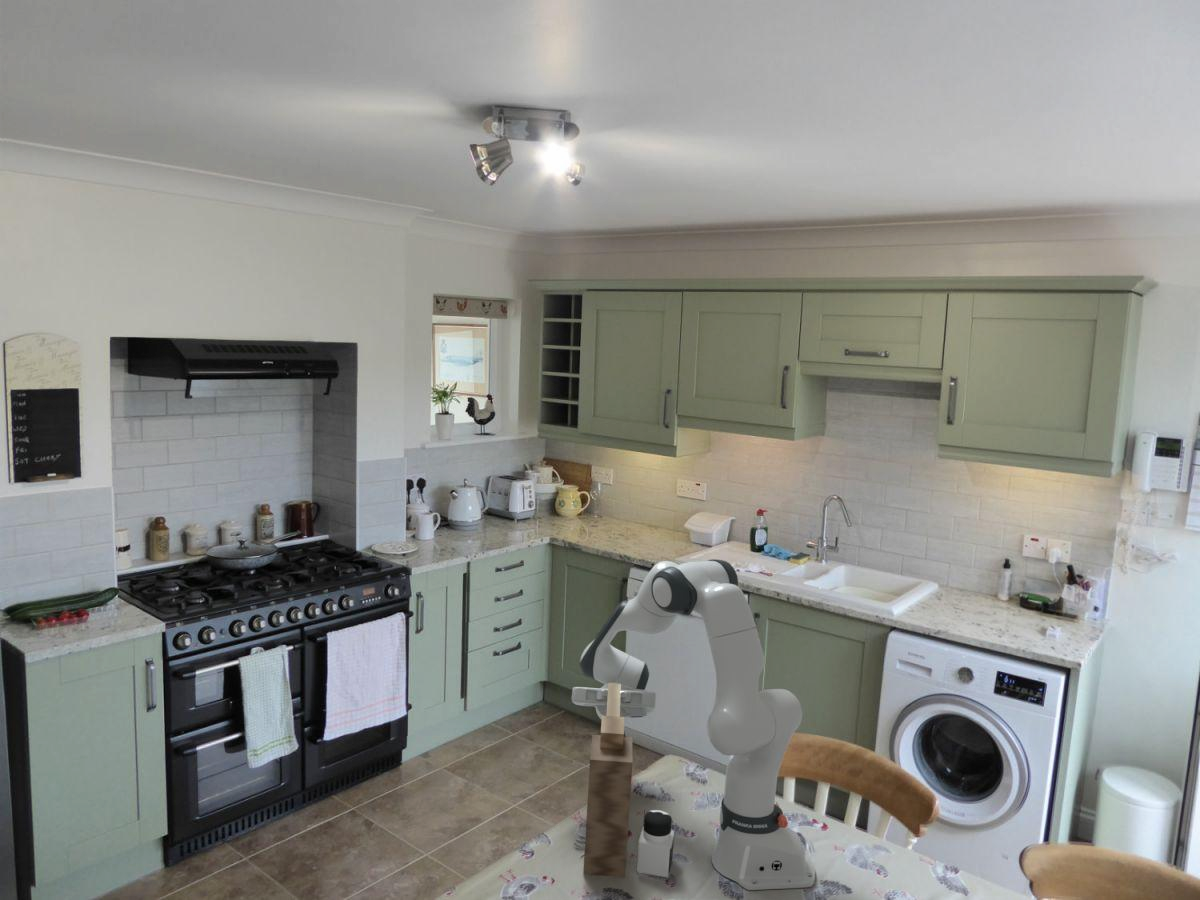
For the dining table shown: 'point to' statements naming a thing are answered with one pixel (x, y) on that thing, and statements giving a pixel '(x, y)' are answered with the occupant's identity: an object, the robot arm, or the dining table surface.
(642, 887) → the dining table surface
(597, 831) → the stand
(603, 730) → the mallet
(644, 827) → the medicine bottle
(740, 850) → the robot arm
